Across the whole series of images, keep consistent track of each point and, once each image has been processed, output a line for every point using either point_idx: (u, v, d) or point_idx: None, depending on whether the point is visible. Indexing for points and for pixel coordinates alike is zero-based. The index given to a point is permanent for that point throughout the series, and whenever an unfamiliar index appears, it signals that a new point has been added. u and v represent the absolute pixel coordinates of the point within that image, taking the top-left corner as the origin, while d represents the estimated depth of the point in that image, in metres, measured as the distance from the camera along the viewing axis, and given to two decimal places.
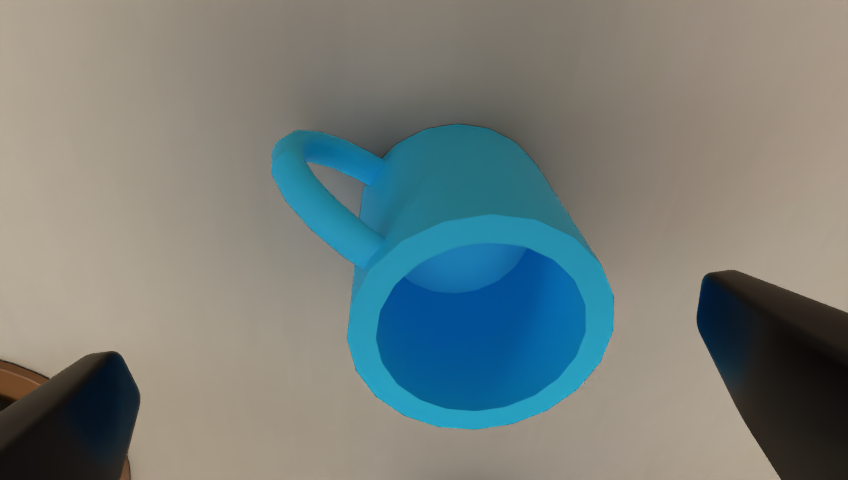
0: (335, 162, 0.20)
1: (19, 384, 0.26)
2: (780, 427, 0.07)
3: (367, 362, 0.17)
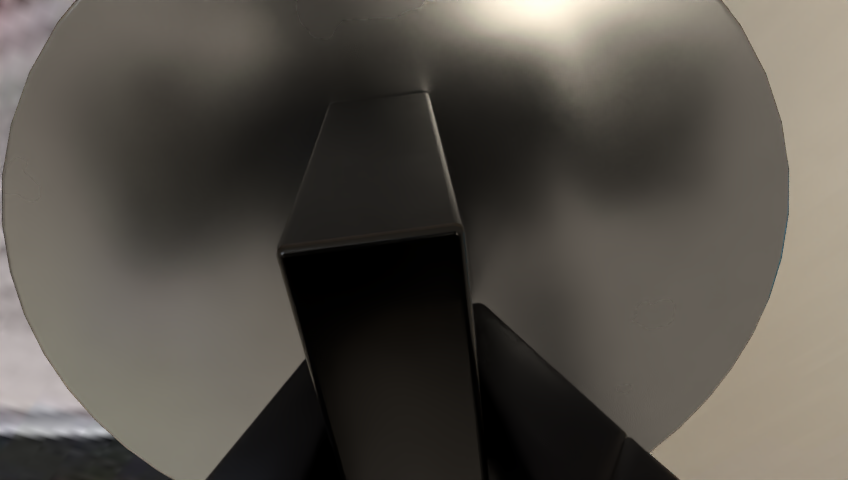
0: None
1: None
2: None
3: None
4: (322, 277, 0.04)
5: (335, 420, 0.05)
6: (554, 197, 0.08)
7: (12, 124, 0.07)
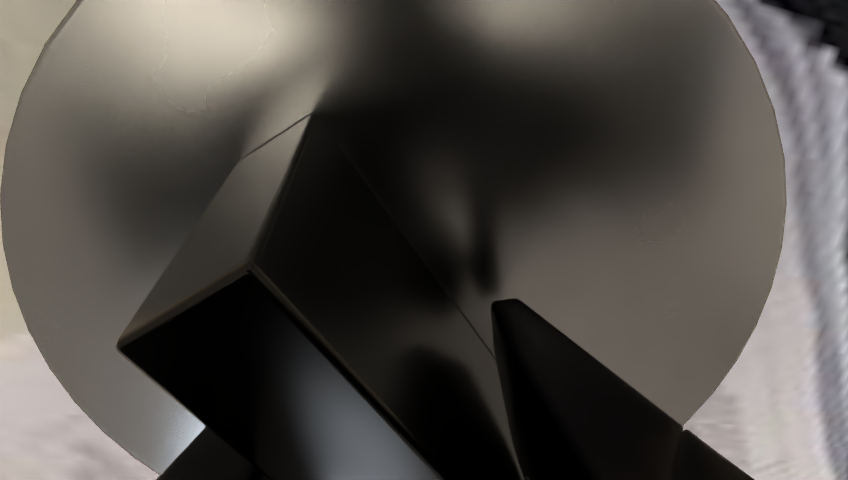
0: None
1: None
2: (527, 460, 0.07)
3: None
4: (163, 353, 0.04)
5: (265, 466, 0.05)
6: (488, 155, 0.08)
7: (13, 287, 0.08)
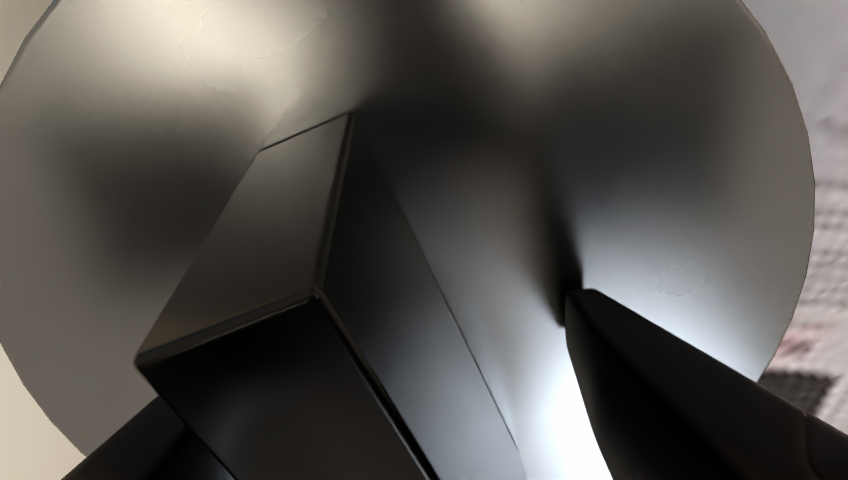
0: None
1: None
2: (616, 448, 0.07)
3: None
4: (189, 377, 0.04)
5: None
6: (526, 184, 0.07)
7: None
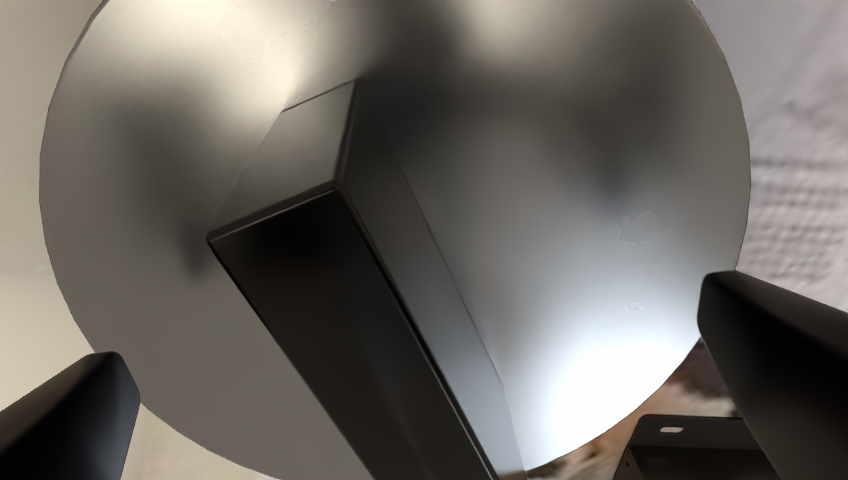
0: None
1: None
2: (780, 427, 0.07)
3: None
4: (244, 250, 0.05)
5: (303, 366, 0.06)
6: (504, 142, 0.09)
7: (40, 199, 0.09)
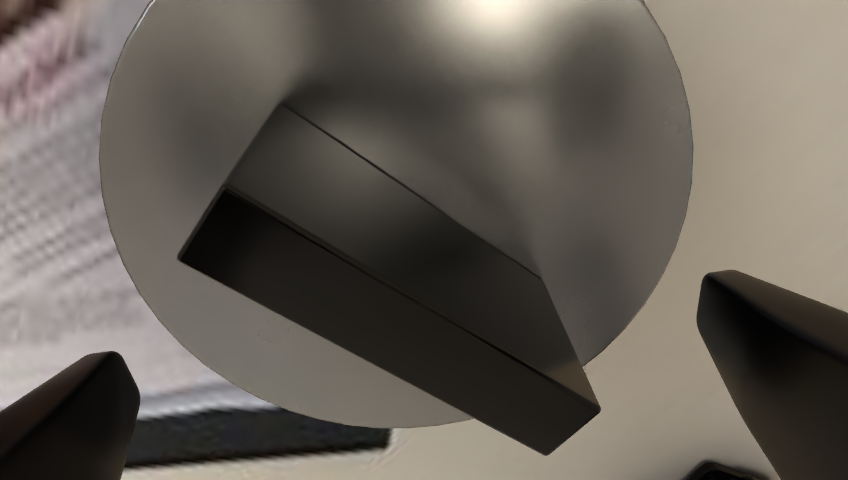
0: None
1: None
2: (780, 427, 0.07)
3: None
4: (579, 415, 0.09)
5: (524, 371, 0.09)
6: None
7: (692, 149, 0.11)
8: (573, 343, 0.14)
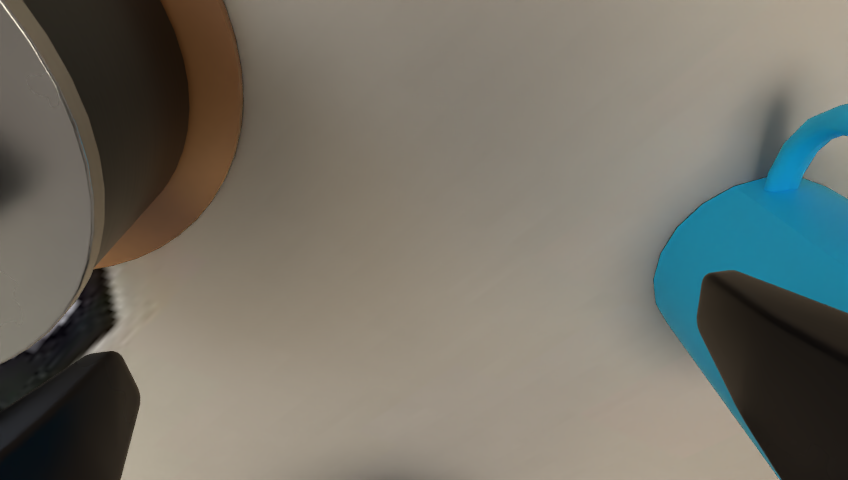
0: (803, 153, 0.19)
1: (214, 37, 0.17)
2: (780, 427, 0.07)
3: None
4: None
5: None
6: None
7: (73, 127, 0.11)
8: (9, 318, 0.13)
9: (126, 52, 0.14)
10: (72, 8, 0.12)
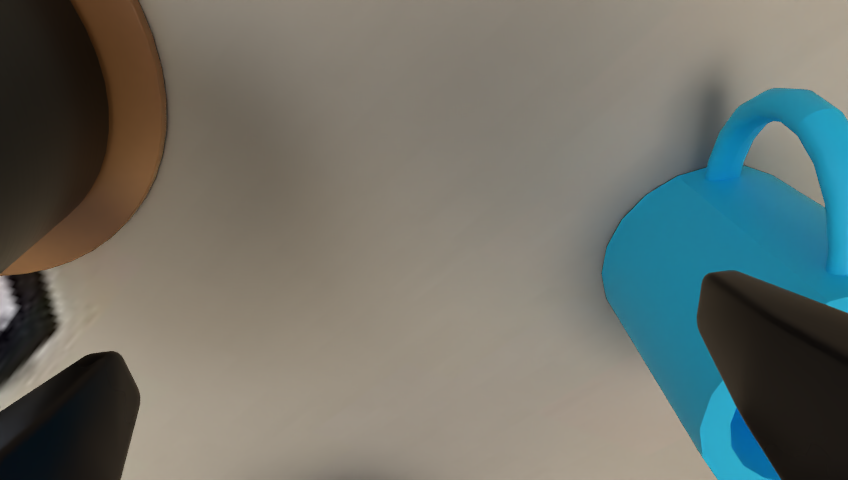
0: (739, 141, 0.18)
1: (128, 35, 0.17)
2: (780, 427, 0.07)
3: None
4: None
5: None
6: None
7: None
8: None
9: (16, 50, 0.13)
10: None
